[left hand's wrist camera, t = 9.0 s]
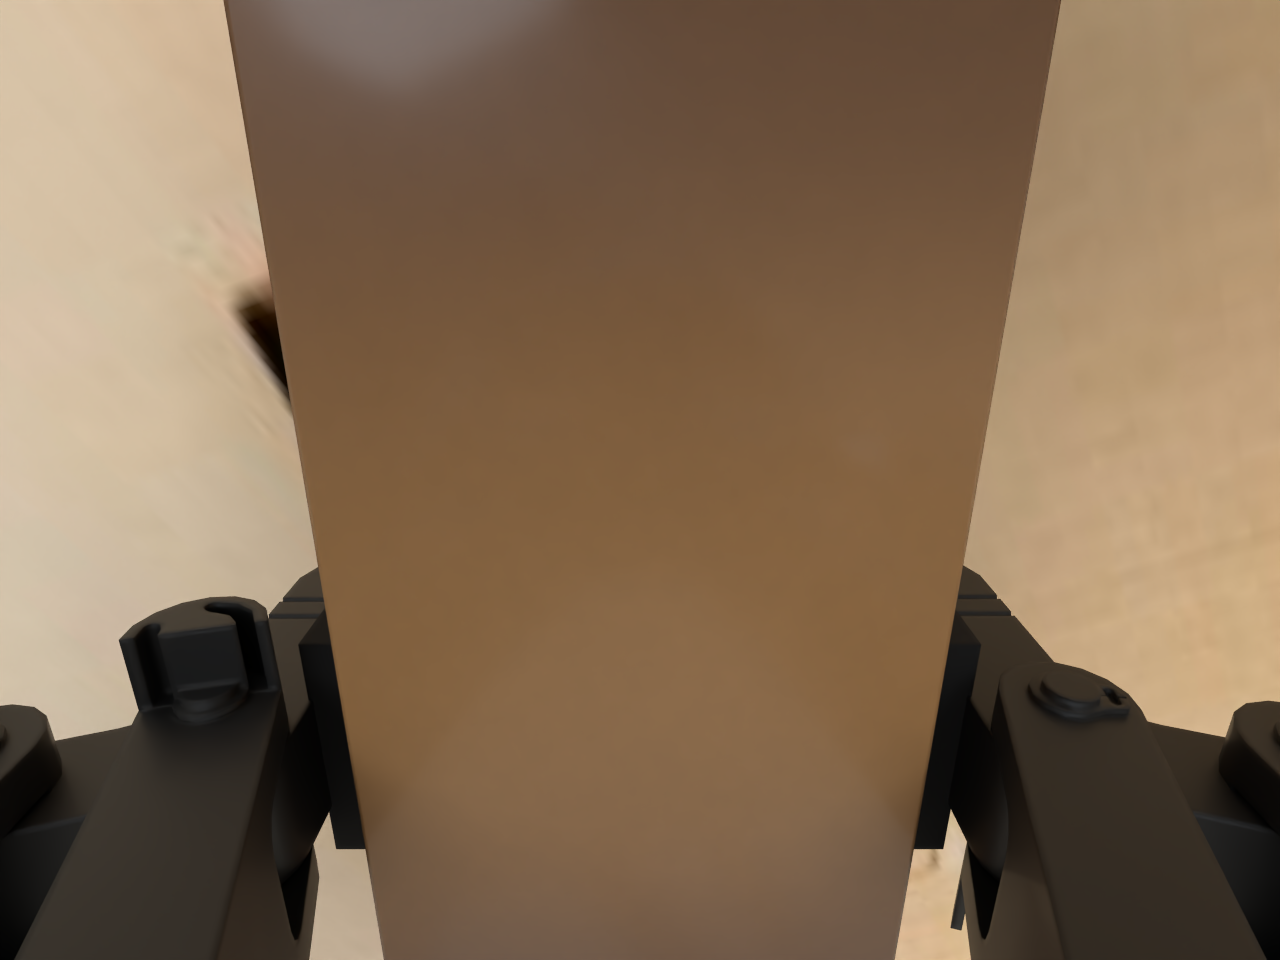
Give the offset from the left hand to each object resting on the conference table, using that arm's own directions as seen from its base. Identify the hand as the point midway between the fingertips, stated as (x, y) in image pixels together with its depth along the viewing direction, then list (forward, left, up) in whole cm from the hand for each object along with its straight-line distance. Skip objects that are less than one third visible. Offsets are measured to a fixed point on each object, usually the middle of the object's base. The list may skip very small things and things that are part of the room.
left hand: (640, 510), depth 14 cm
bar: (-2, +7, -1) cm, 7 cm away
